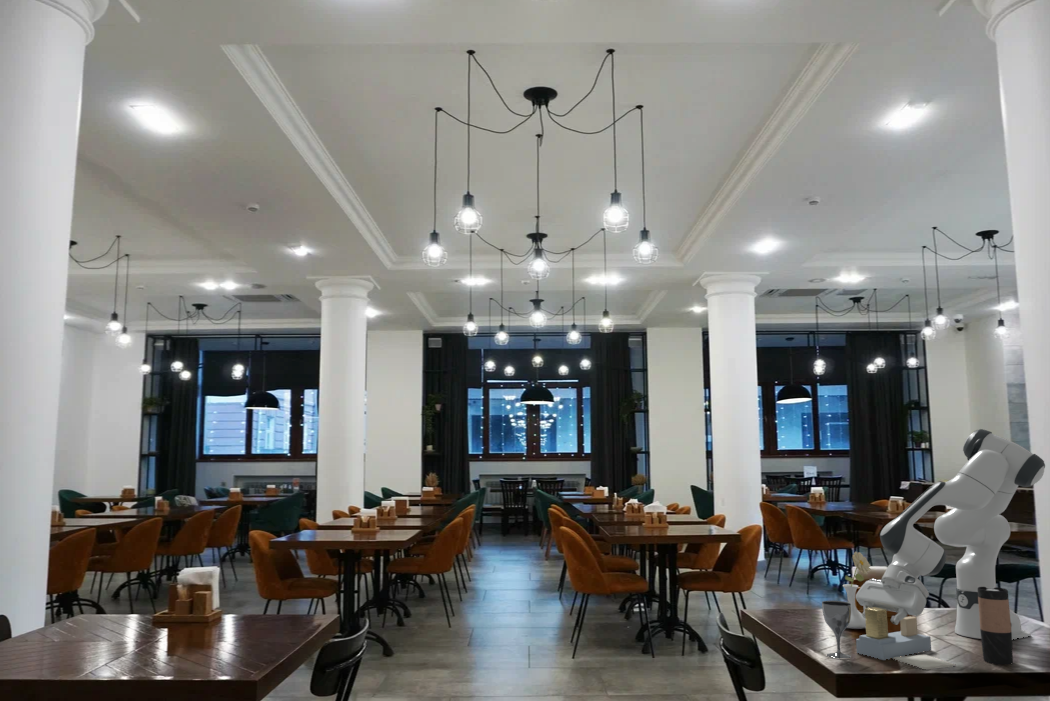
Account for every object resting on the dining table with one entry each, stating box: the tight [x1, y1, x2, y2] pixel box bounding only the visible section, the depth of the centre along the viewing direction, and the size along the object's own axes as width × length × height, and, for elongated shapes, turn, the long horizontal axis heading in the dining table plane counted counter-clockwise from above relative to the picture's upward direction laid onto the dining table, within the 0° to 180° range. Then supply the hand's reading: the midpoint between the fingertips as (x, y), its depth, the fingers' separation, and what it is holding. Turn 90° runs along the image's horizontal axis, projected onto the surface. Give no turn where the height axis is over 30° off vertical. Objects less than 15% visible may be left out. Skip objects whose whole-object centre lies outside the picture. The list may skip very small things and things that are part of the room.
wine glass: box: [821, 600, 852, 659], centre depth 227 cm, size 8×8×15 cm
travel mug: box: [978, 586, 1014, 665], centre depth 221 cm, size 8×8×20 cm
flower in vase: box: [842, 551, 871, 630], centre depth 265 cm, size 13×11×25 cm
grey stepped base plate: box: [855, 615, 932, 661], centre depth 232 cm, size 22×9×9 cm, turn 119°
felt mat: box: [892, 653, 956, 670], centre depth 219 cm, size 11×11×1 cm
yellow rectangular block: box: [865, 607, 889, 639], centre depth 229 cm, size 4×4×9 cm
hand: (879, 620), depth 229 cm, fingers open, 8 cm apart
